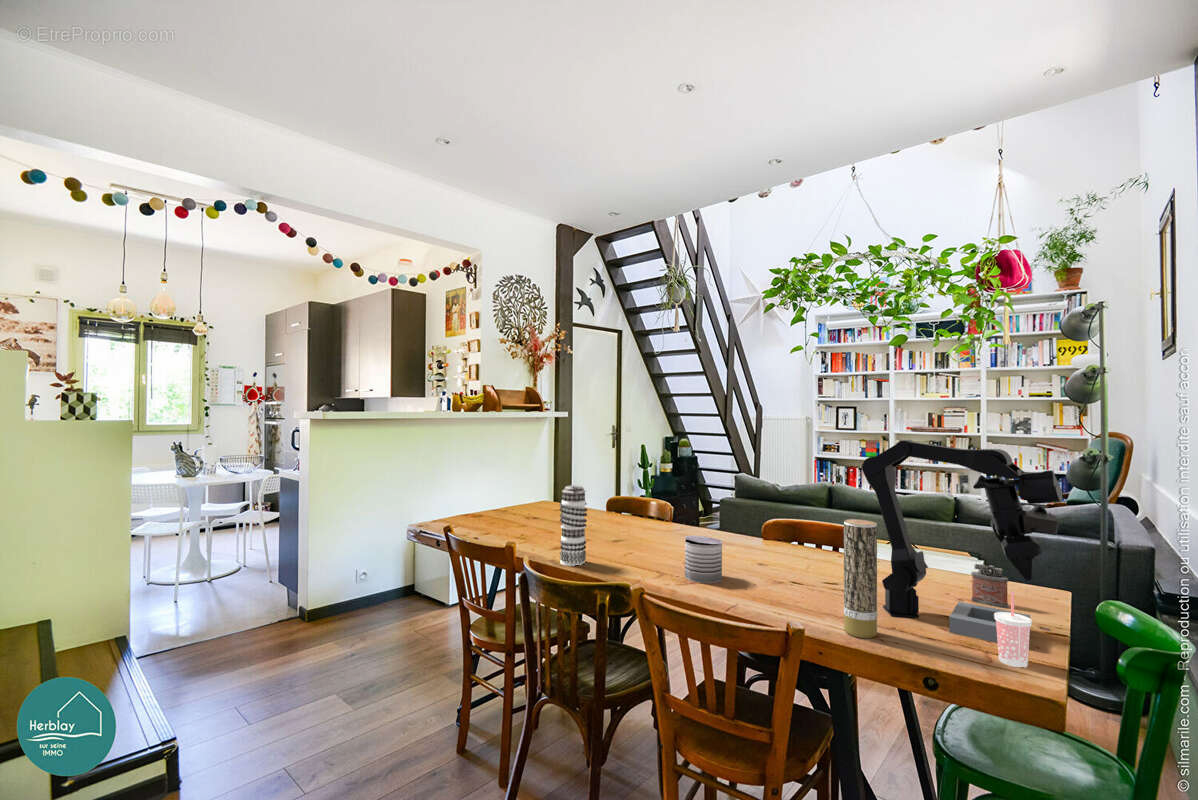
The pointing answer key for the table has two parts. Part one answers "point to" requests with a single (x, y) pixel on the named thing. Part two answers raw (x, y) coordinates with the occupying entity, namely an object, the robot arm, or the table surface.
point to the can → (703, 559)
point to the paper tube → (860, 578)
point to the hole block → (975, 621)
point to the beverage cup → (1013, 637)
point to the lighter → (989, 586)
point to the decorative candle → (573, 526)
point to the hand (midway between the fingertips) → (1024, 571)
